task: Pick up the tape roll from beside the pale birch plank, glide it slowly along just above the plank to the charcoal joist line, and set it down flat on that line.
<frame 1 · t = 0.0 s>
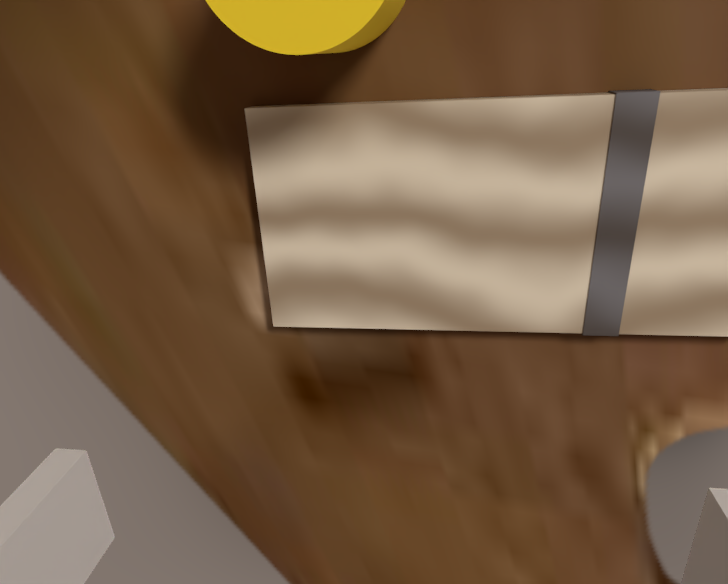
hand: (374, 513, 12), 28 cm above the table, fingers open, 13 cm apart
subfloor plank: (503, 219, 37), on the table
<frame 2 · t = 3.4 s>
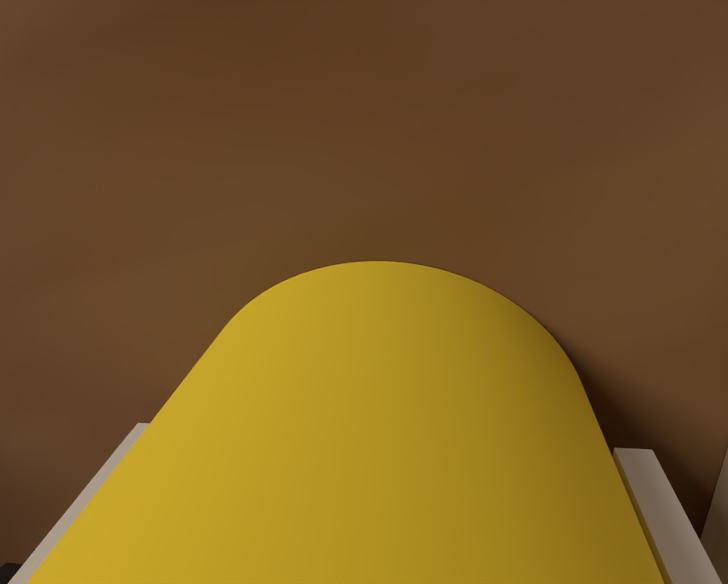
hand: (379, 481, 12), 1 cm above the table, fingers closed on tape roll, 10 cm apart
tape roll: (385, 438, 14), on the table, touching gripper
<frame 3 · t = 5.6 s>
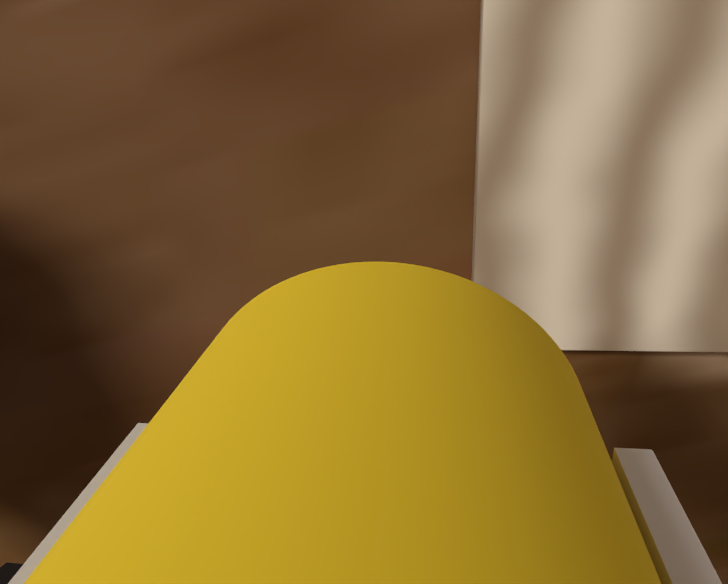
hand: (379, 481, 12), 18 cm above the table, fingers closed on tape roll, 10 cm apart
tape roll: (384, 438, 14), point 17 cm above the table, touching gripper
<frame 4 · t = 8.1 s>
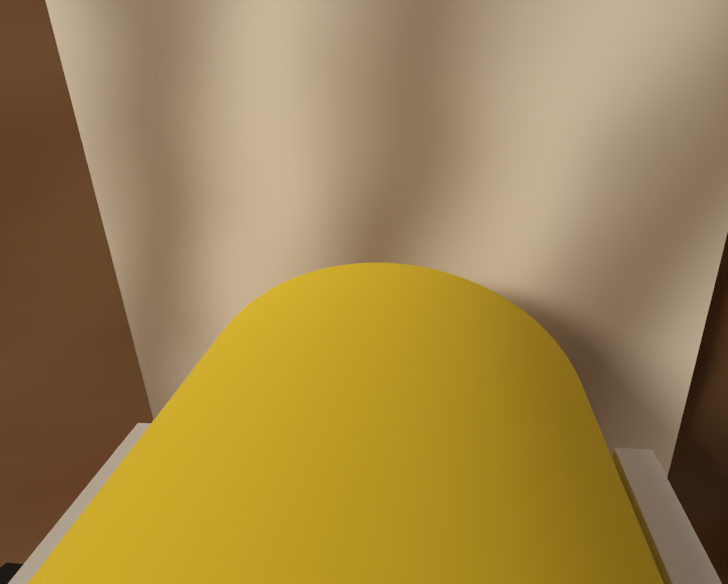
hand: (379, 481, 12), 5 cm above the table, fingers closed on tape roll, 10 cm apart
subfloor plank: (392, 63, 13), on the table
tape roll: (385, 439, 14), point 4 cm above the table, touching gripper
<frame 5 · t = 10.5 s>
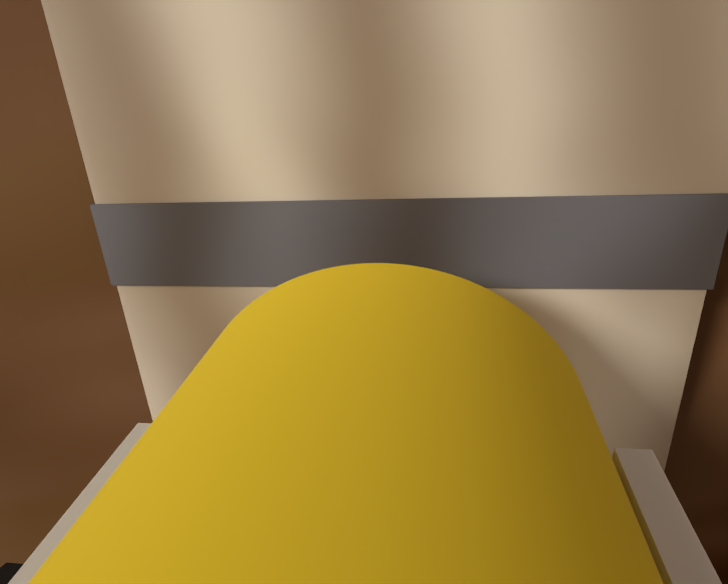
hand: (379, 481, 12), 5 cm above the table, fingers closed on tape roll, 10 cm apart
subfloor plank: (398, 423, 18), on the table
tape roll: (385, 440, 14), point 4 cm above the table, touching gripper
when the fingers open (4 cm above the table, at t = 12.7 s): tape roll drops 1 cm, resting on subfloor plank.
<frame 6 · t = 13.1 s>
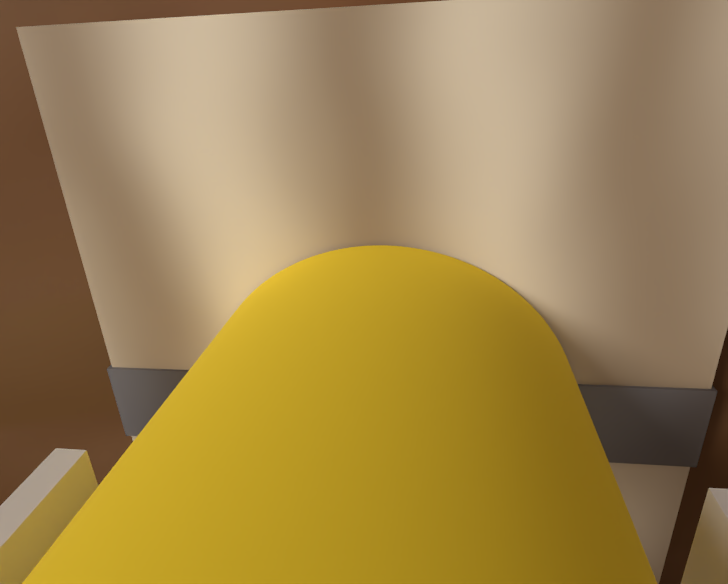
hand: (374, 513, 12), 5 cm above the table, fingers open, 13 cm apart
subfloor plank: (398, 547, 19), on the table
tape roll: (386, 412, 15), point 1 cm above the table, touching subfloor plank
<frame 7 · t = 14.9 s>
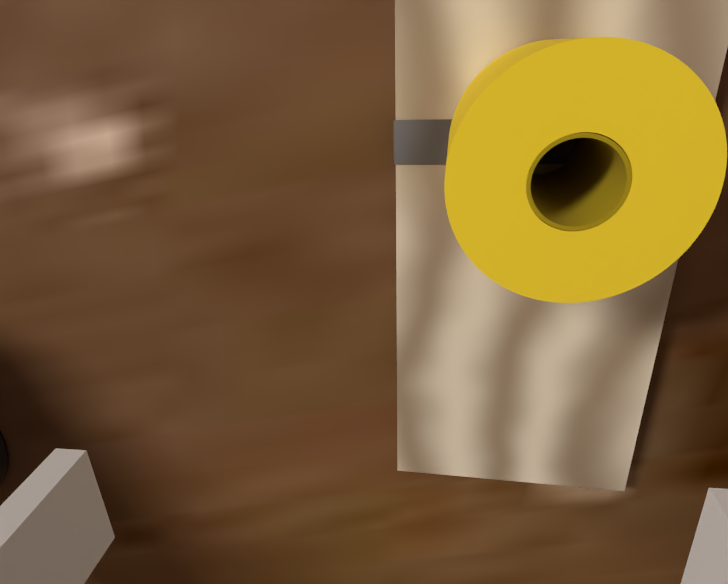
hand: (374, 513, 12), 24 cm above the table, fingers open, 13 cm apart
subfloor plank: (527, 253, 33), on the table
tape roll: (542, 141, 29), point 1 cm above the table, touching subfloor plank
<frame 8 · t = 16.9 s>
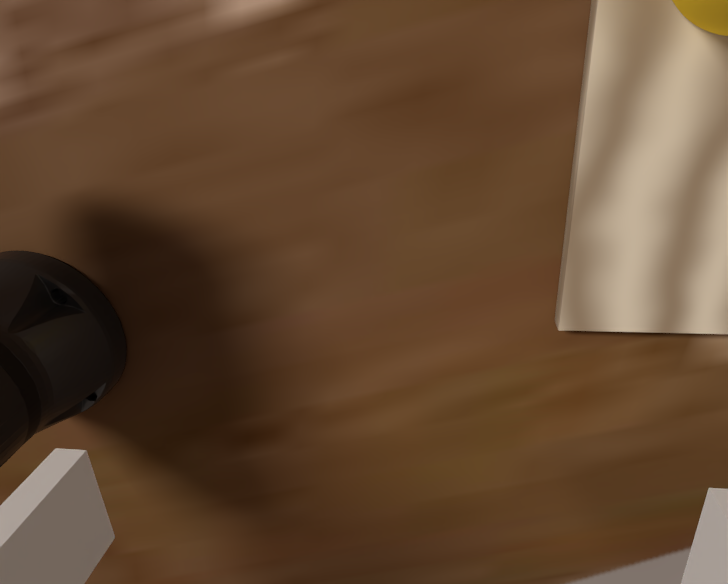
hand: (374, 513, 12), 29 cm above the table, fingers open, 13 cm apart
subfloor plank: (721, 73, 32), on the table
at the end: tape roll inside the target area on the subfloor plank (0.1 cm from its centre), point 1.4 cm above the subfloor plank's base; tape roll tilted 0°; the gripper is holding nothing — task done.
